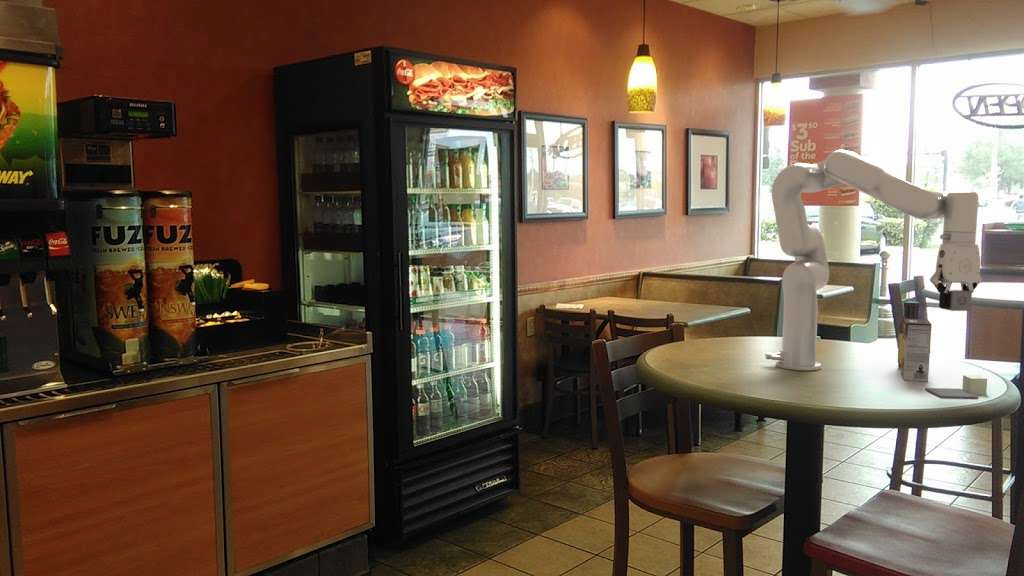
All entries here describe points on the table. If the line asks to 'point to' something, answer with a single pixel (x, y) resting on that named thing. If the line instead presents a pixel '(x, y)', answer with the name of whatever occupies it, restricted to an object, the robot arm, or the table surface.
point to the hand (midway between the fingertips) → (954, 307)
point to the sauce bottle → (909, 313)
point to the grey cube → (960, 300)
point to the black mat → (951, 393)
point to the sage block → (974, 384)
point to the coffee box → (915, 349)
